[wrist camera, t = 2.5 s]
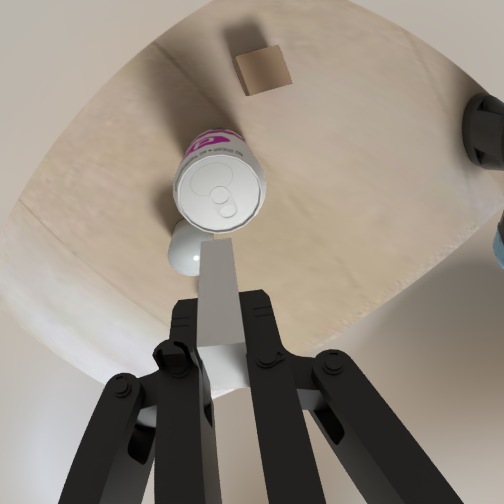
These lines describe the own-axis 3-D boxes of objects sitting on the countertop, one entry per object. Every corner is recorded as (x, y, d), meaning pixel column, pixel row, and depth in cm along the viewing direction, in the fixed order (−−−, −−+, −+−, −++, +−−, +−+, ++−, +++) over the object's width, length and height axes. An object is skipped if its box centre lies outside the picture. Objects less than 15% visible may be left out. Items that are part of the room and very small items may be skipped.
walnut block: (270, 51, 29) (278, 44, 24) (282, 85, 31) (292, 83, 27) (232, 61, 29) (235, 56, 25) (245, 95, 32) (250, 95, 27)
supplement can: (176, 145, 34) (151, 177, 21) (233, 117, 33) (245, 129, 20) (204, 196, 38) (199, 253, 25) (259, 170, 37) (283, 215, 24)
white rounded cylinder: (210, 213, 40) (210, 233, 34) (216, 250, 43) (216, 273, 38) (169, 219, 39) (163, 239, 34) (177, 254, 42) (173, 278, 37)
